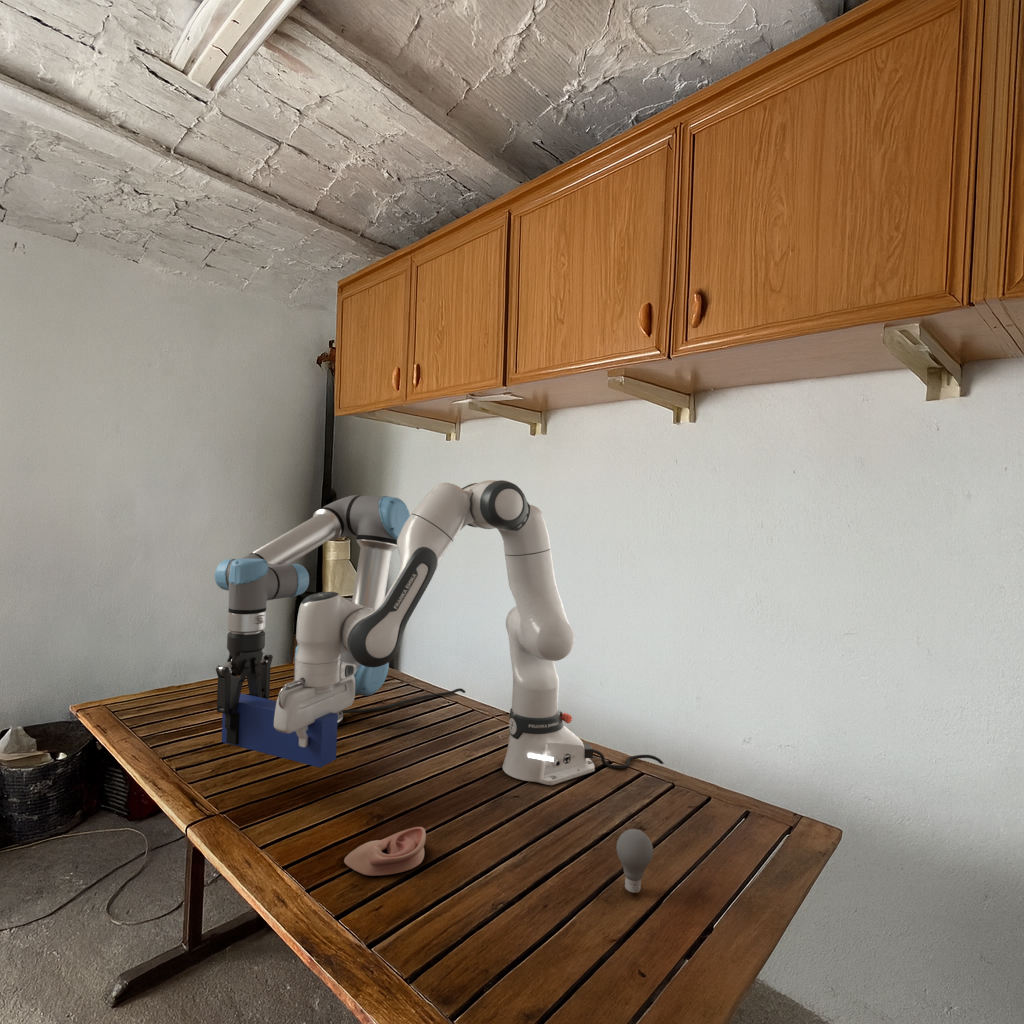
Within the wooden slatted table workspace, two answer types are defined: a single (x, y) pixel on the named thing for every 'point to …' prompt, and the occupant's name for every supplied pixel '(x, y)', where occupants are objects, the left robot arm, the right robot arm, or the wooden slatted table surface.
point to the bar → (266, 739)
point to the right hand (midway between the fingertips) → (315, 740)
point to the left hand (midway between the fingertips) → (242, 738)
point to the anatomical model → (389, 853)
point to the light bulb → (634, 857)
